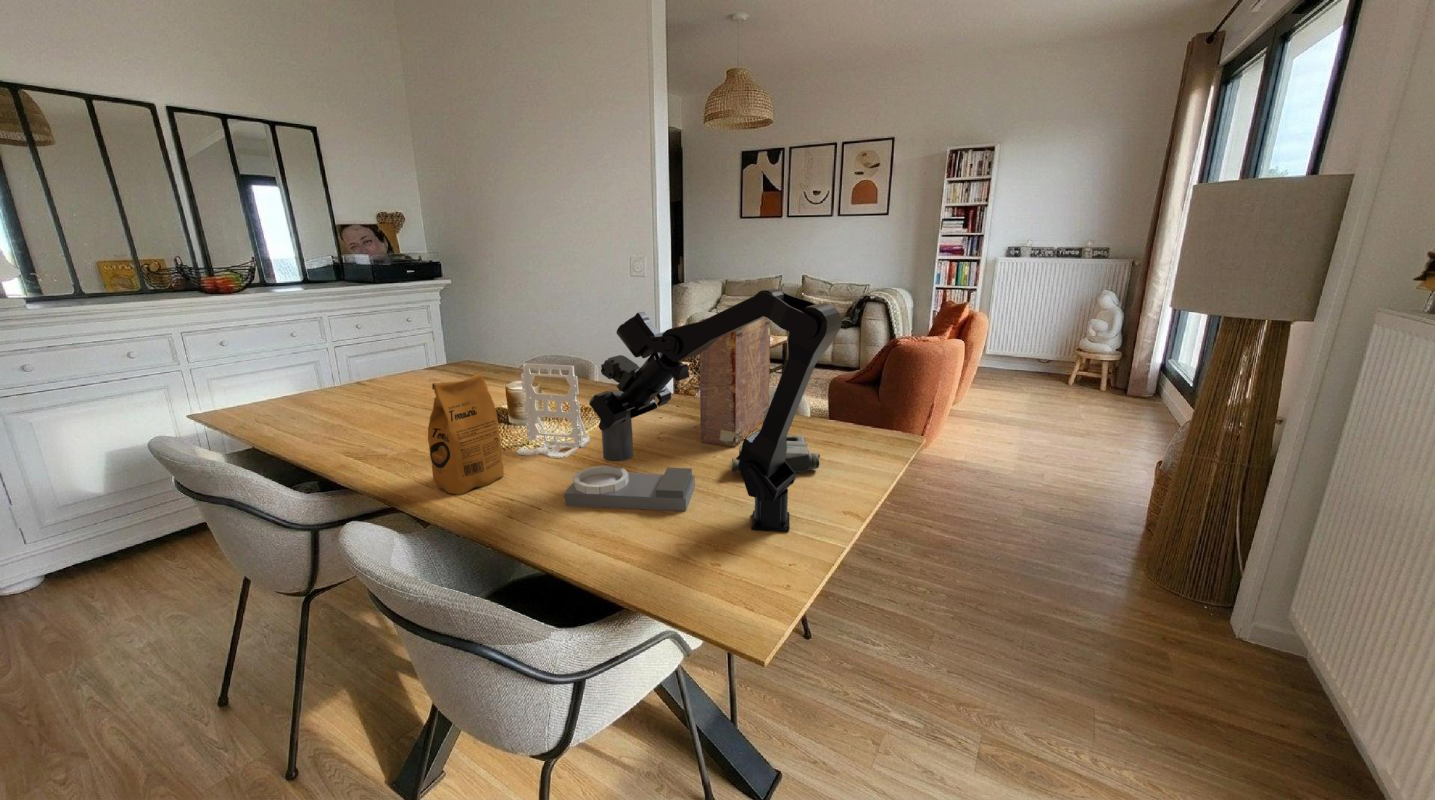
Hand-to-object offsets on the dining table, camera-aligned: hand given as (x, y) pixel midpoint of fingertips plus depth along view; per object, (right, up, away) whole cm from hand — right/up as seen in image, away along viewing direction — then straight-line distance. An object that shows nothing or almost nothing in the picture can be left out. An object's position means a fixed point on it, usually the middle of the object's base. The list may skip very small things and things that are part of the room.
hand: (611, 424), depth 114 cm
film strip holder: (-18, -7, +23) cm, 30 cm away
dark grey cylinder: (+1, -7, +1) cm, 7 cm away
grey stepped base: (+5, -14, -3) cm, 15 cm away
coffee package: (-30, -12, +3) cm, 32 cm away
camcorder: (+35, -10, +13) cm, 38 cm away
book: (+26, -3, +35) cm, 44 cm away
